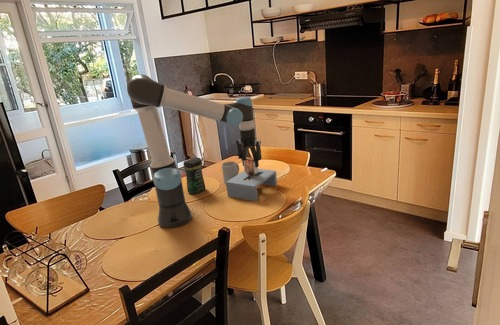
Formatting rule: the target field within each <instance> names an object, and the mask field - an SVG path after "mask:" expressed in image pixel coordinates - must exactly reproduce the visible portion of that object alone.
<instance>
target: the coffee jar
mask: <svg viewBox="0 0 500 325" xmlns="http://www.w3.org/2000/svg"><path fill="white" fill-rule="evenodd" d="M202 168H203V162H202V159H201V158H200V157H197V156H195V157H193V158H190V159H186V160H184V161H183V169H184V171H185V175H186V189H187V192H188V193H189V194H194V195H195V194H199V193H201V192H203V191H205V190H206V184H205V179H204V175H203V171H202V170H203V169H202Z"/></svg>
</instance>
